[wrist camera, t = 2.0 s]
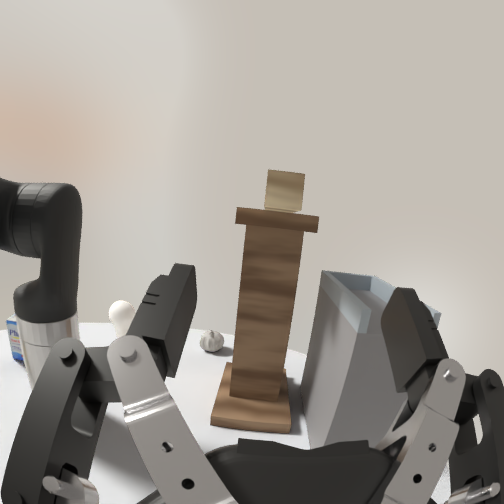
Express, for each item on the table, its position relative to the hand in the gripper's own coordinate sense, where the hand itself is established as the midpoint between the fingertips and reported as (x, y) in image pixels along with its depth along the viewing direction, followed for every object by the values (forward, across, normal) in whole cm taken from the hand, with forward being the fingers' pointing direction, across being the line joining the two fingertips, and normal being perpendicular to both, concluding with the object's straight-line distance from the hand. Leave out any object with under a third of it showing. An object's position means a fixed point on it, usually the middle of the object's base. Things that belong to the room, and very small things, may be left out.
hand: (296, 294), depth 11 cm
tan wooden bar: (+26, 0, +10) cm, 27 cm away
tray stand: (+9, -14, +37) cm, 41 cm away
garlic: (+30, +10, +49) cm, 58 cm away
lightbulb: (+24, +30, +45) cm, 59 cm away
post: (+14, 0, +40) cm, 43 cm away
